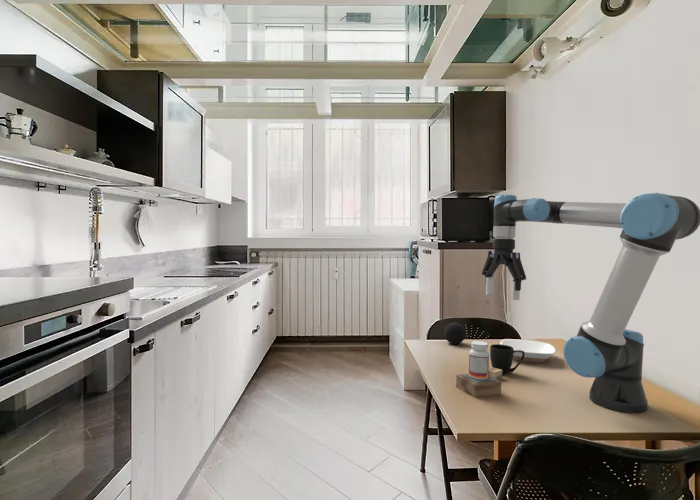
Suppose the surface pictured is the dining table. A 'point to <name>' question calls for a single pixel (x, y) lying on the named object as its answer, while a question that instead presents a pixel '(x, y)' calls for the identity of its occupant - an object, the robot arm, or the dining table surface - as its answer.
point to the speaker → (454, 333)
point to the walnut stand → (478, 385)
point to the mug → (503, 357)
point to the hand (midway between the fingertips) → (501, 297)
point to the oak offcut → (495, 373)
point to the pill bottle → (479, 360)
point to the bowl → (530, 350)
